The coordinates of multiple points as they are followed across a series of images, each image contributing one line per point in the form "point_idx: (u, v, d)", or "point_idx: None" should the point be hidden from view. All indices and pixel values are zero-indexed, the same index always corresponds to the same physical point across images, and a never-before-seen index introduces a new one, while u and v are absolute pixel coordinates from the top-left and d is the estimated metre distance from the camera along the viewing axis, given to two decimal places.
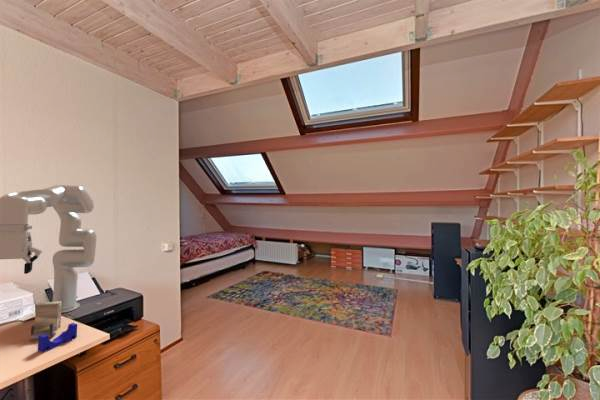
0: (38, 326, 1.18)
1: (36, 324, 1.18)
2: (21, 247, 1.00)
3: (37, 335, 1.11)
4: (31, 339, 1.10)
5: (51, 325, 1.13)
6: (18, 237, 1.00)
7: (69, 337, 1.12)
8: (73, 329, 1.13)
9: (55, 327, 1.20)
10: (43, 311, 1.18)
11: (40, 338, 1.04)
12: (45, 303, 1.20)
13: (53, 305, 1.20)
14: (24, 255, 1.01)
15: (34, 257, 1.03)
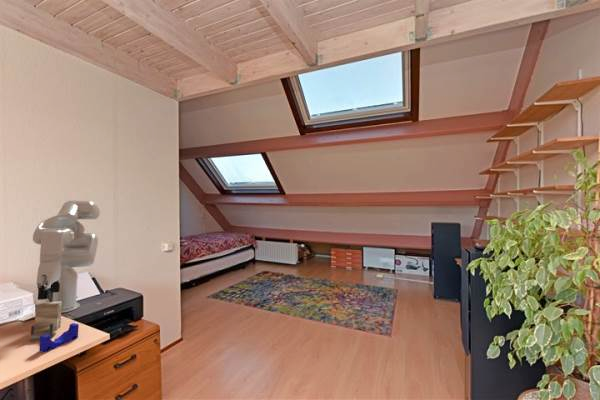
0: (38, 326, 1.18)
1: (36, 324, 1.18)
2: (60, 270, 1.24)
3: (37, 335, 1.11)
4: (31, 339, 1.10)
5: (51, 325, 1.13)
6: (60, 262, 1.23)
7: (70, 337, 1.12)
8: (74, 329, 1.13)
9: (55, 327, 1.20)
10: (43, 311, 1.18)
11: (42, 338, 1.04)
12: (45, 303, 1.20)
13: (53, 305, 1.20)
14: (60, 276, 1.25)
15: (60, 278, 1.27)
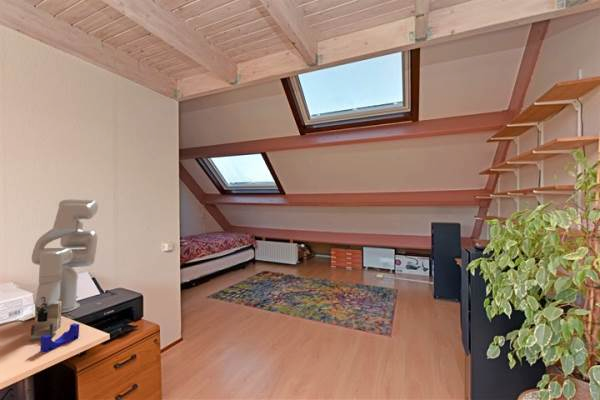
0: (38, 326, 1.18)
1: (36, 324, 1.18)
2: (59, 290, 1.24)
3: (37, 335, 1.11)
4: (31, 339, 1.10)
5: (51, 325, 1.13)
6: (59, 283, 1.24)
7: (71, 337, 1.12)
8: (75, 329, 1.13)
9: (55, 327, 1.20)
10: None
11: (43, 338, 1.04)
12: None
13: (53, 305, 1.20)
14: (59, 297, 1.25)
15: (58, 298, 1.27)
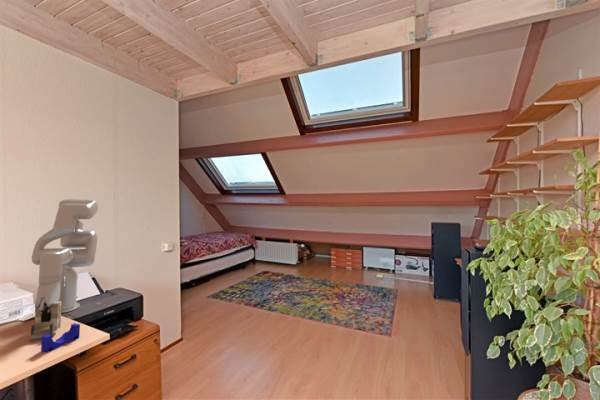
0: (38, 326, 1.18)
1: (36, 324, 1.18)
2: (59, 291, 1.24)
3: (37, 335, 1.11)
4: (31, 339, 1.10)
5: (51, 325, 1.13)
6: (59, 283, 1.24)
7: (72, 337, 1.12)
8: (76, 329, 1.13)
9: (55, 327, 1.20)
10: None
11: (44, 338, 1.04)
12: None
13: (53, 305, 1.20)
14: (59, 297, 1.25)
15: None
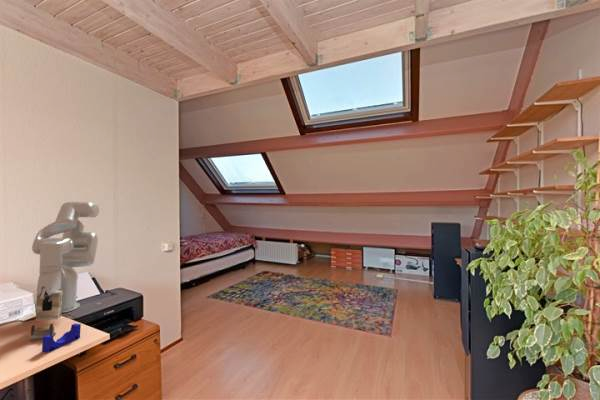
0: (39, 315, 1.19)
1: (37, 313, 1.18)
2: (60, 280, 1.25)
3: (37, 335, 1.11)
4: (31, 339, 1.10)
5: (51, 325, 1.13)
6: (60, 273, 1.24)
7: (73, 337, 1.12)
8: (76, 329, 1.13)
9: (56, 316, 1.21)
10: None
11: (44, 338, 1.04)
12: None
13: (54, 294, 1.20)
14: (60, 286, 1.26)
15: None
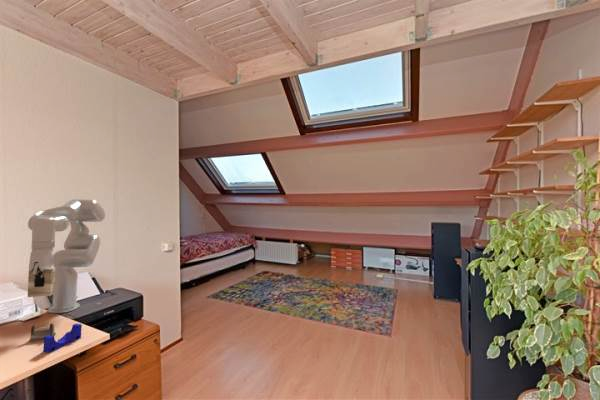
0: (31, 291, 1.18)
1: (29, 289, 1.17)
2: (52, 257, 1.24)
3: (37, 335, 1.11)
4: (31, 339, 1.10)
5: (51, 325, 1.13)
6: (52, 250, 1.23)
7: (74, 337, 1.12)
8: (78, 329, 1.13)
9: (49, 292, 1.20)
10: None
11: (46, 339, 1.03)
12: None
13: (46, 270, 1.19)
14: None
15: None
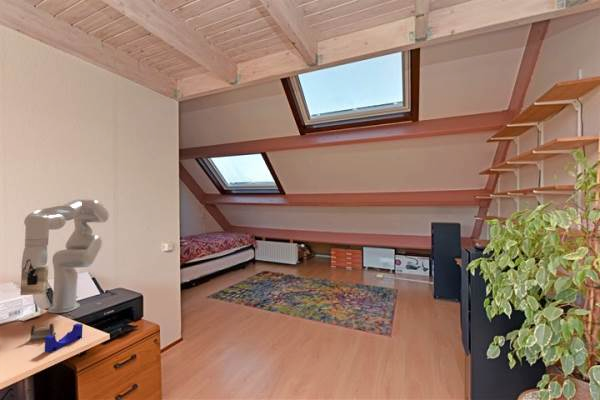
0: (24, 289, 1.17)
1: (22, 287, 1.17)
2: (46, 255, 1.24)
3: (37, 335, 1.11)
4: (31, 339, 1.10)
5: (51, 325, 1.13)
6: (46, 248, 1.23)
7: (75, 337, 1.12)
8: (79, 329, 1.13)
9: (41, 291, 1.19)
10: None
11: (47, 339, 1.03)
12: None
13: (39, 268, 1.19)
14: (46, 262, 1.24)
15: None
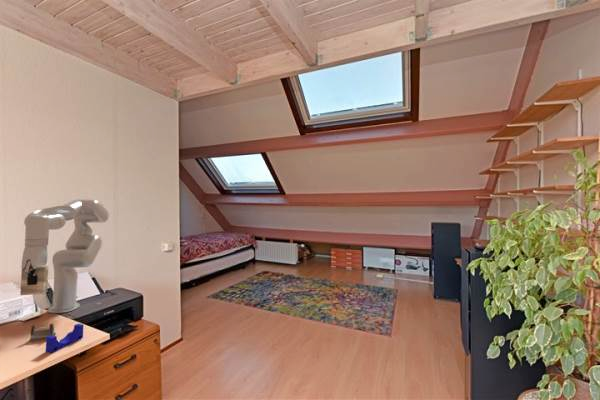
0: (24, 289, 1.17)
1: (22, 287, 1.17)
2: (46, 255, 1.24)
3: (37, 335, 1.11)
4: (31, 339, 1.10)
5: (51, 325, 1.13)
6: (46, 248, 1.23)
7: (76, 338, 1.12)
8: (79, 329, 1.13)
9: (41, 291, 1.19)
10: None
11: (48, 339, 1.03)
12: None
13: (39, 268, 1.19)
14: (46, 262, 1.24)
15: None
